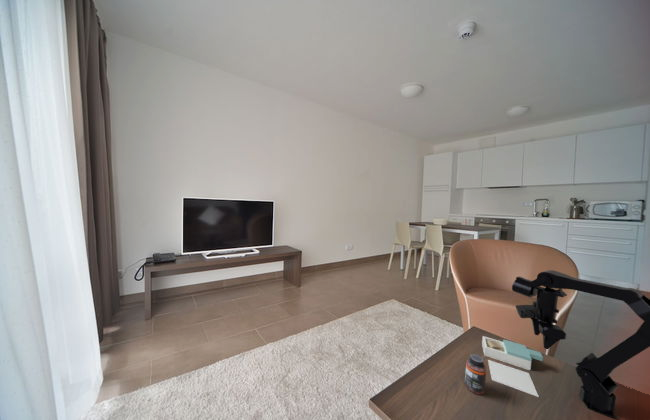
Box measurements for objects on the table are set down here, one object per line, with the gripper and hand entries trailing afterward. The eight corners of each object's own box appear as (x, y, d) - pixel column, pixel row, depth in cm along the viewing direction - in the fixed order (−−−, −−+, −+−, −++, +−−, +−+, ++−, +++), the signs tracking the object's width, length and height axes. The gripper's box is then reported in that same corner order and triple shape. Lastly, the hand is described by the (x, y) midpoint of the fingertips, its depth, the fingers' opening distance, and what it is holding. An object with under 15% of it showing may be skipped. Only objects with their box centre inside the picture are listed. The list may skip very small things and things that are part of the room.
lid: (537, 351, 95) (537, 348, 94) (544, 365, 87) (545, 361, 87) (503, 341, 100) (503, 338, 100) (507, 354, 92) (507, 350, 92)
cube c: (496, 350, 100) (497, 341, 100) (501, 356, 96) (502, 347, 96) (486, 348, 101) (487, 340, 100) (491, 355, 97) (492, 346, 96)
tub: (523, 357, 97) (525, 348, 96) (530, 371, 89) (531, 361, 89) (481, 344, 104) (482, 336, 104) (484, 355, 96) (485, 347, 96)
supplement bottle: (478, 382, 83) (481, 352, 82) (488, 396, 77) (491, 365, 76) (461, 380, 83) (463, 351, 82) (469, 394, 77) (472, 363, 76)
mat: (528, 374, 87) (528, 373, 87) (538, 397, 77) (538, 396, 77) (487, 360, 94) (487, 359, 94) (491, 380, 83) (492, 379, 83)
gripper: (512, 289, 98) (508, 323, 99) (527, 308, 82) (522, 348, 83) (546, 295, 93) (541, 331, 94) (569, 317, 77) (563, 360, 78)
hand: (540, 341), depth 88 cm, fingers open, 9 cm apart
